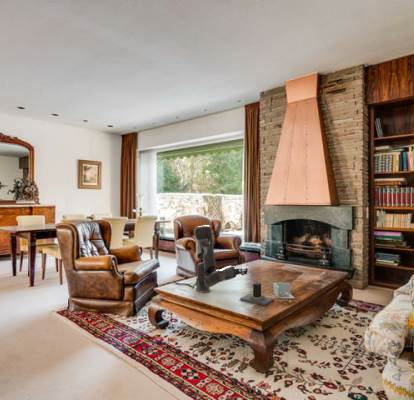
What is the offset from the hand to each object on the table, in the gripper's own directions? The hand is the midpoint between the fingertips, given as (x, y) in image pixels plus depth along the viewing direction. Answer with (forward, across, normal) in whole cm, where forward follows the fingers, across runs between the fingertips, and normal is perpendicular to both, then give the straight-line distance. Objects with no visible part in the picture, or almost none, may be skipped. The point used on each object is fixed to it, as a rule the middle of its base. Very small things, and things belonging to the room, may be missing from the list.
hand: (241, 268), depth 204 cm
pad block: (+15, -4, +22) cm, 27 cm away
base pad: (+15, -4, +24) cm, 28 cm away
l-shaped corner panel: (+38, -14, +24) cm, 47 cm away
